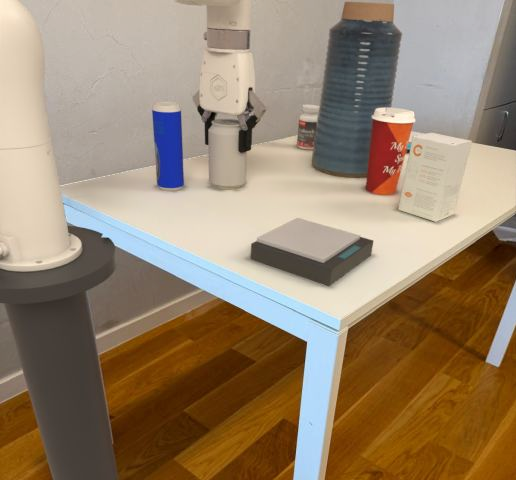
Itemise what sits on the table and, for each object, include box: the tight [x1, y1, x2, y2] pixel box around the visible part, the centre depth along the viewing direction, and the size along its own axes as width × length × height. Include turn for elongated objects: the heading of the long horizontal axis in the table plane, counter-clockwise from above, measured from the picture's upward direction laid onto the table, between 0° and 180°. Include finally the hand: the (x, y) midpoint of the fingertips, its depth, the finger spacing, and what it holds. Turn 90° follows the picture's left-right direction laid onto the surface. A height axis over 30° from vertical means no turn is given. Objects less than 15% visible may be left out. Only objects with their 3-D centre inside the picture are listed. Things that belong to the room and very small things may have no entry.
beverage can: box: [151, 101, 185, 192], centre depth 94 cm, size 5×5×15 cm
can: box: [207, 118, 248, 190], centre depth 98 cm, size 8×8×12 cm
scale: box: [250, 217, 374, 287], centre depth 73 cm, size 13×13×3 cm
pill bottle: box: [296, 104, 319, 151], centre depth 128 cm, size 6×6×10 cm
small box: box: [398, 132, 473, 223], centre depth 89 cm, size 8×6×13 cm
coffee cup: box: [365, 107, 416, 196], centre depth 99 cm, size 8×8×15 cm
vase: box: [311, 1, 403, 178], centre depth 107 cm, size 16×16×32 cm
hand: (227, 147), depth 97 cm, fingers closed on can, 7 cm apart
